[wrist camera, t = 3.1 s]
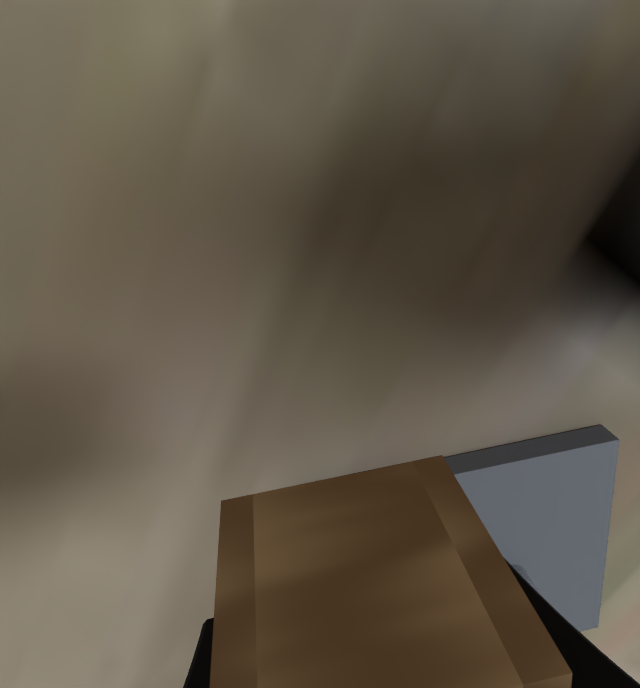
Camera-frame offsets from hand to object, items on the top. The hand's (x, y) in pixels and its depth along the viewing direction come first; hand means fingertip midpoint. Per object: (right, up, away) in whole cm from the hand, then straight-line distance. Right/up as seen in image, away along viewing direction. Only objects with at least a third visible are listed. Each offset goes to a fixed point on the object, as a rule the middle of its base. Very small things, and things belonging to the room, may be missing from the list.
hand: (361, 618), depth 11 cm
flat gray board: (+6, -5, +14) cm, 16 cm away
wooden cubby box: (0, +1, +1) cm, 2 cm away
